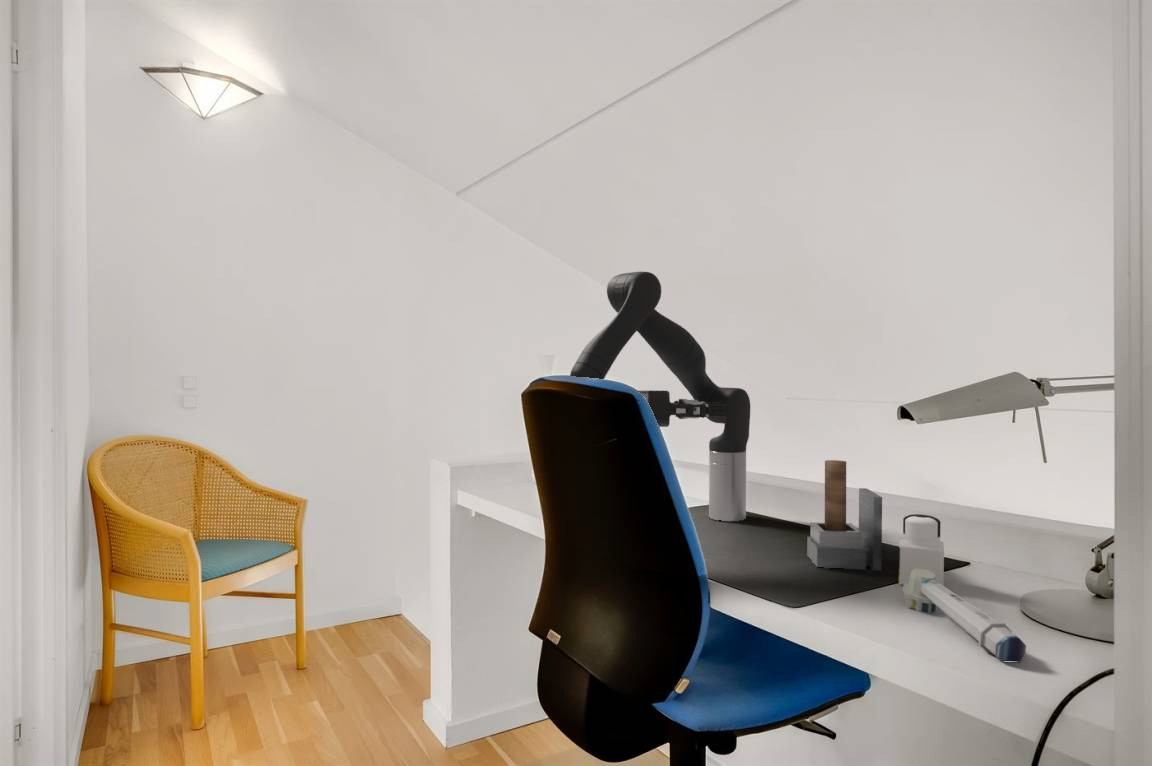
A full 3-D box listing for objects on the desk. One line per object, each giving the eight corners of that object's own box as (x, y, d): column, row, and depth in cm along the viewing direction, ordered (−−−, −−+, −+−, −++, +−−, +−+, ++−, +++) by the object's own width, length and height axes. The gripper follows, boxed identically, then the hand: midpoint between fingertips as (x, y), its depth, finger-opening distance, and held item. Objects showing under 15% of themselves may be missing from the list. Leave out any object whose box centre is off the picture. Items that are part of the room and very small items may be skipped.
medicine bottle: (900, 574, 136) (900, 510, 136) (942, 579, 133) (943, 514, 132) (898, 585, 129) (899, 518, 129) (943, 590, 126) (944, 521, 126)
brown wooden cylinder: (822, 539, 146) (822, 460, 146) (843, 540, 146) (843, 460, 146) (827, 544, 142) (827, 462, 142) (848, 544, 142) (848, 462, 142)
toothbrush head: (994, 636, 95) (898, 559, 120) (989, 683, 96) (895, 597, 121) (1033, 635, 96) (929, 559, 120) (1027, 682, 97) (926, 597, 121)
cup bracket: (806, 555, 150) (807, 487, 149) (866, 556, 148) (866, 488, 148) (817, 568, 140) (818, 496, 139) (881, 570, 139) (882, 497, 138)
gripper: (646, 391, 144) (729, 392, 142) (646, 389, 158) (722, 389, 157) (646, 429, 144) (729, 430, 143) (646, 423, 158) (722, 424, 157)
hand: (725, 409), depth 150 cm, fingers open, 8 cm apart
